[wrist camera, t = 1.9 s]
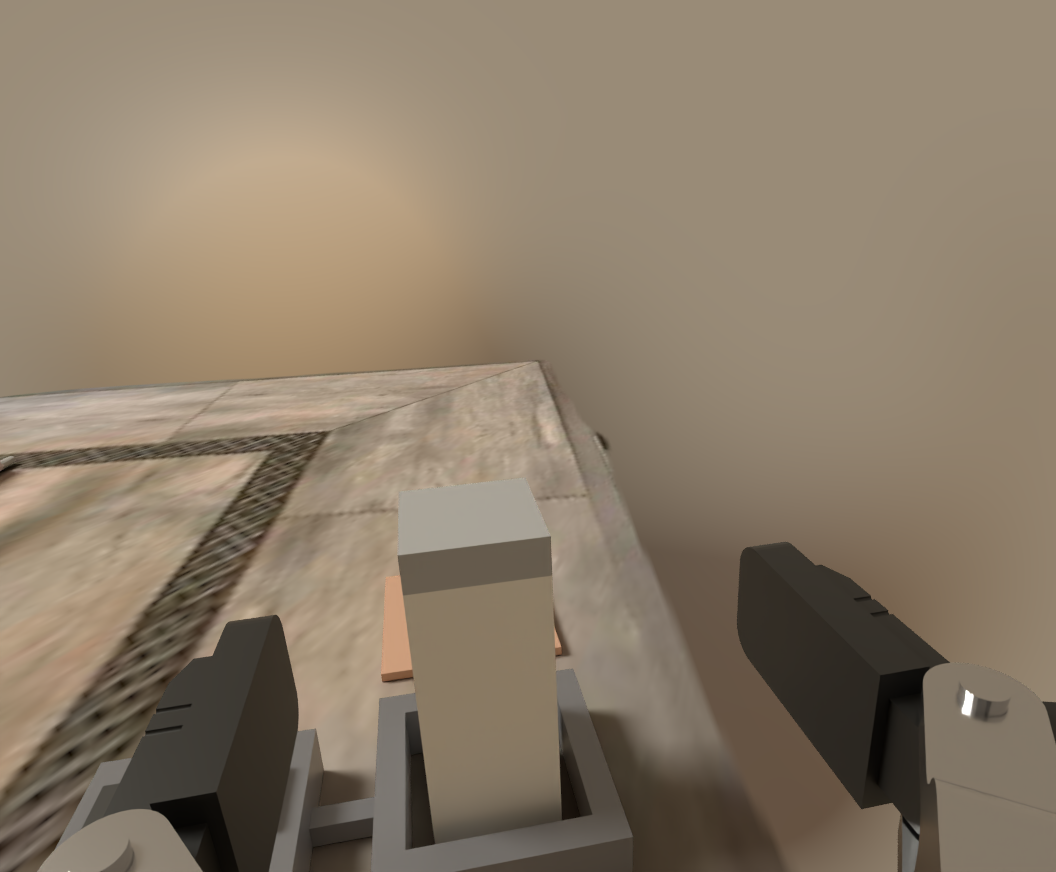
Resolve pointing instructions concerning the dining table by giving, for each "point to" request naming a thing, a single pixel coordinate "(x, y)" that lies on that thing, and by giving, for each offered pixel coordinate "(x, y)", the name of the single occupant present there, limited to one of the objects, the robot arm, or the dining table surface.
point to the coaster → (402, 634)
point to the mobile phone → (6, 462)
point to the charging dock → (447, 868)
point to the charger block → (482, 655)
